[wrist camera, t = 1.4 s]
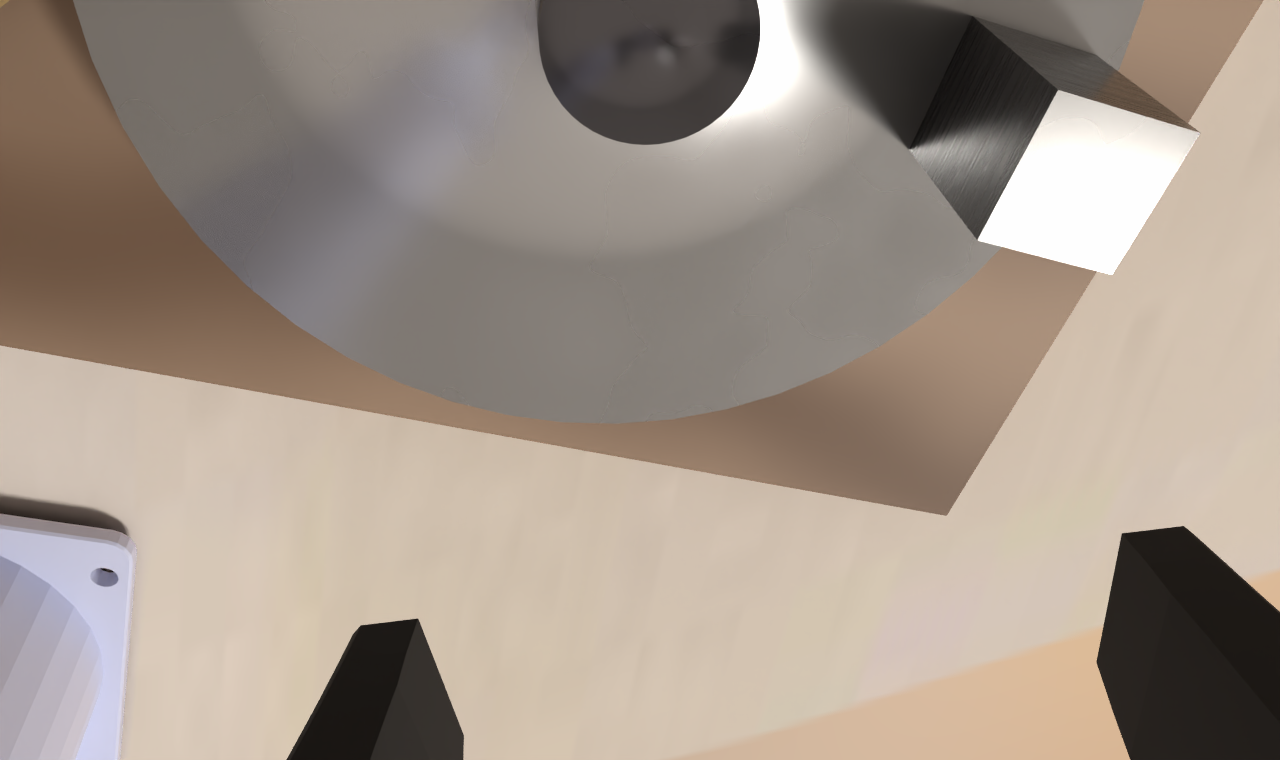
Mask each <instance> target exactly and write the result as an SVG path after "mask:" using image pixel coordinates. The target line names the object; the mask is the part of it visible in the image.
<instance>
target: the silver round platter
mask: <svg viewBox="0 0 1280 760" xmlns="http://www.w3.org/2000/svg"><path fill="white" fill-rule="evenodd" d="M73 2H74V5H75V8H76V12H77V15H78V18H79V21H80V24H81V27H82V31H83V34H84V37H85V40H86V43H87V46H88V49H89V53H90V56H91V59H92V61H93V63H94V66H95V68H96V70H97V72H98V74H99V77H100V79H101V81H102V83H103V85H104V87H105V90H106V92H107V94H108V96H109V98H110V101H111V103H112V105H113V107H114V109H115V111H116V114H117V116H118V118H119V120H120V122H121V124H122V127H123V128H124V130H125V132H126V133H127V135H128V136H129V138H130V140H131V141H132V143H133V145H134V146H135V148H136V150H137V151H138V153H139V154H140V156H141V158H142V159H143V161H144V163H145V164H146V166H147V167H148V169H149V171H150V172H151V174H152V176H153V177H154V179H155V181H156V182H157V184H158V185H159V187H160V188H161V190H162V191H163V192H164V193H165V195H166V196H167V197H168V198H169V200H170V201H171V202H172V203H173V205H174V206H175V207H176V209H177V210H178V211H179V212H180V214H181V215H182V216H183V217H184V219H185V220H186V221H187V223H188V224H189V225H190V226H191V228H192V229H193V230H194V231H195V233H196V234H197V235H198V236H199V238H200V239H201V240H202V241H203V242H204V243H205V244H206V245H207V246H208V247H209V248H210V249H211V250H212V251H213V252H214V253H215V254H216V255H217V256H218V257H219V258H220V259H221V260H222V261H223V262H224V263H225V264H226V265H227V266H228V267H229V268H230V269H231V270H232V271H233V272H234V273H235V274H236V275H237V276H238V277H239V278H240V279H241V280H242V281H243V282H244V283H245V284H246V285H247V286H248V287H249V288H250V289H252V290H253V291H254V292H255V293H256V294H258V295H259V296H260V297H261V298H263V299H264V300H265V301H266V302H268V303H269V304H270V305H271V306H273V307H274V308H275V309H276V310H278V311H279V312H280V313H281V314H283V315H284V316H285V317H286V318H288V319H289V320H290V321H291V322H293V323H294V324H295V325H297V326H298V327H300V328H301V329H303V330H305V331H306V332H308V333H309V334H311V335H313V336H314V337H316V338H317V339H319V340H320V341H322V342H324V343H325V344H327V345H328V346H330V347H332V348H333V349H335V350H336V351H338V352H339V353H341V354H343V355H344V356H346V357H348V358H350V359H352V360H354V361H356V362H358V363H360V364H362V365H364V366H366V367H368V368H370V369H372V370H374V371H376V372H378V373H381V374H383V375H385V376H387V377H389V378H391V379H393V380H395V381H397V382H399V383H402V384H404V385H407V386H410V387H413V388H416V389H418V390H421V391H424V392H427V393H430V394H432V395H435V396H438V397H441V398H444V399H446V400H449V401H452V402H455V403H460V404H464V405H468V406H472V407H476V408H480V409H484V410H489V411H493V412H497V413H501V414H505V415H511V416H518V417H526V418H534V419H541V420H549V421H556V422H570V423H610V424H620V423H632V422H645V421H658V420H670V419H677V418H682V417H687V416H693V415H698V414H704V413H709V412H714V411H720V410H725V409H729V408H732V407H736V406H739V405H743V404H746V403H749V402H753V401H756V400H760V399H763V398H766V397H770V396H773V395H777V394H780V393H782V392H784V391H787V390H789V389H792V388H794V387H797V386H799V385H802V384H804V383H807V382H809V381H811V380H814V379H816V378H819V377H821V376H824V375H826V374H829V373H831V372H833V371H835V370H836V369H838V368H840V367H842V366H844V365H846V364H848V363H850V362H851V361H853V360H855V359H857V358H859V357H861V356H863V355H865V354H866V353H868V352H870V351H872V350H874V349H876V348H878V347H880V346H881V345H883V344H884V343H886V342H887V341H889V340H890V339H892V338H893V337H895V336H896V335H898V334H899V333H900V332H902V331H903V330H905V329H906V328H908V327H909V326H911V325H912V324H914V323H915V322H917V321H918V320H920V319H921V318H923V317H924V316H926V315H927V314H929V313H930V312H931V311H932V310H933V309H935V308H936V307H937V306H938V305H939V304H941V303H942V302H943V301H944V300H945V299H947V298H948V297H949V296H950V295H951V294H953V293H954V292H955V291H956V290H957V289H959V288H960V287H961V286H962V285H963V284H965V283H966V282H967V281H968V280H969V279H971V278H972V277H973V276H974V275H975V274H976V273H977V272H978V271H979V270H980V269H981V268H982V267H983V266H984V265H985V264H986V263H987V262H988V261H989V260H990V259H991V258H992V257H993V256H994V255H995V254H996V253H997V252H998V251H999V250H1000V249H1001V248H1002V247H1005V248H1009V249H1013V250H1017V251H1021V252H1025V253H1028V254H1032V255H1036V256H1040V257H1044V258H1048V259H1052V260H1056V261H1060V262H1064V263H1068V264H1071V265H1075V266H1079V267H1083V268H1087V269H1091V270H1095V271H1099V272H1103V273H1107V274H1110V275H1112V274H1113V272H1114V271H1115V269H1116V268H1117V266H1118V264H1119V263H1120V261H1121V260H1122V258H1123V256H1124V255H1125V253H1126V252H1127V250H1128V248H1129V247H1130V245H1131V244H1132V242H1133V240H1134V239H1135V237H1136V236H1137V234H1138V232H1139V231H1140V229H1141V228H1142V226H1143V224H1144V223H1145V221H1146V220H1147V218H1148V216H1149V215H1150V213H1151V212H1152V210H1153V208H1154V207H1155V205H1156V204H1157V202H1158V200H1159V199H1160V197H1161V196H1162V194H1163V192H1164V191H1165V189H1166V188H1167V186H1168V184H1169V183H1170V181H1171V180H1172V178H1173V176H1174V175H1175V173H1176V172H1177V170H1178V168H1179V167H1180V165H1181V164H1182V162H1183V160H1184V159H1185V157H1186V156H1187V154H1188V152H1189V151H1190V149H1191V148H1192V146H1193V144H1194V143H1195V141H1196V140H1197V138H1198V136H1199V135H1200V132H1199V131H1197V130H1196V129H1195V128H1193V127H1192V126H1191V125H1189V124H1188V123H1187V122H1185V121H1184V120H1183V119H1181V118H1180V117H1179V116H1177V115H1176V114H1175V113H1173V112H1172V111H1171V110H1169V109H1168V108H1167V107H1165V106H1164V105H1163V104H1161V103H1160V102H1158V101H1157V100H1156V99H1154V98H1153V97H1152V96H1150V95H1149V94H1148V93H1146V92H1145V91H1144V90H1142V89H1141V88H1140V87H1138V86H1137V85H1136V84H1134V83H1133V82H1132V81H1130V80H1129V79H1128V78H1126V77H1125V76H1124V75H1122V74H1121V73H1120V72H1118V71H1119V69H1120V66H1121V63H1122V60H1123V58H1124V55H1125V52H1126V50H1127V47H1128V44H1129V41H1130V39H1131V36H1132V33H1133V30H1134V28H1135V25H1136V22H1137V20H1138V17H1139V14H1140V11H1141V9H1142V6H1143V3H1144V0H73Z"/></svg>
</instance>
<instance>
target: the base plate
mask: <svg viewBox="0 0 1280 760" xmlns="http://www.w3.org/2000/svg"><path fill="white" fill-rule="evenodd" d="M1262 2H1263V0H1144V3H1143V6H1142V9H1141V11H1140V14H1139V17H1138V20H1137V22H1136V25H1135V28H1134V30H1133V33H1132V36H1131V39H1130V41H1129V44H1128V47H1127V50H1126V52H1125V55H1124V58H1123V60H1122V63H1121V66H1120V69H1119V71H1118V72H1120V73H1121V74H1122V75H1124V76H1125V77H1126V78H1128V79H1129V80H1130V81H1132V82H1133V83H1134V84H1136V85H1137V86H1138V87H1140V88H1141V89H1142V90H1144V91H1145V92H1146V93H1148V94H1149V95H1150V96H1152V97H1153V98H1154V99H1156V100H1157V101H1158V102H1160V103H1161V104H1163V105H1164V106H1165V107H1167V108H1168V109H1169V110H1171V111H1172V112H1173V113H1175V114H1176V115H1177V116H1179V117H1180V118H1181V119H1183V120H1184V121H1185V122H1187V123H1188V122H1189V121H1190V119H1191V117H1192V116H1193V114H1194V112H1195V111H1196V109H1197V108H1198V106H1199V104H1200V103H1201V101H1202V99H1203V98H1204V96H1205V95H1206V93H1207V91H1208V90H1209V88H1210V86H1211V85H1212V83H1213V82H1214V80H1215V78H1216V77H1217V75H1218V73H1219V72H1220V70H1221V69H1222V67H1223V65H1224V64H1225V62H1226V60H1227V59H1228V57H1229V56H1230V54H1231V52H1232V51H1233V49H1234V47H1235V46H1236V44H1237V43H1238V41H1239V39H1240V38H1241V36H1242V34H1243V33H1244V31H1245V30H1246V28H1247V26H1248V25H1249V23H1250V21H1251V20H1252V18H1253V17H1254V15H1255V13H1256V12H1257V10H1258V8H1259V7H1260V5H1261V4H1262ZM1096 272H1097V271H1095V270H1091V269H1087V268H1083V267H1079V266H1075V265H1071V264H1068V263H1064V262H1060V261H1056V260H1052V259H1048V258H1044V257H1040V256H1036V255H1032V254H1028V253H1025V252H1021V251H1017V250H1013V249H1009V248H1005V247H1002V248H1001V249H1000V250H999V251H998V252H997V253H996V254H995V255H994V256H993V257H992V258H991V259H990V260H989V261H988V262H987V263H986V264H985V265H984V266H983V267H982V268H981V269H980V270H979V271H978V272H977V273H976V274H975V275H974V276H973V277H972V278H971V279H969V280H968V281H967V282H966V283H965V284H963V285H962V286H961V287H960V288H959V289H957V290H956V291H955V292H954V293H953V294H951V295H950V296H949V297H948V298H947V299H945V300H944V301H943V302H942V303H941V304H939V305H938V306H937V307H936V308H935V309H933V310H932V311H931V312H930V313H929V314H927V315H926V316H924V317H923V318H921V319H920V320H918V321H917V322H915V323H914V324H912V325H911V326H909V327H908V328H906V329H905V330H903V331H902V332H900V333H899V334H898V335H896V336H895V337H893V338H892V339H890V340H889V341H887V342H886V343H884V344H883V345H881V346H880V347H878V348H876V349H874V350H872V351H870V352H868V353H866V354H865V355H863V356H861V357H859V358H857V359H855V360H853V361H851V362H850V363H848V364H846V365H844V366H842V367H840V368H838V369H836V370H835V371H833V372H831V373H829V374H826V375H824V376H821V377H819V378H816V379H814V380H811V381H809V382H807V383H804V384H802V385H799V386H797V387H794V388H792V389H789V390H787V391H784V392H782V393H780V394H777V395H773V396H770V397H766V398H763V399H760V400H756V401H753V402H749V403H746V404H743V405H739V406H736V407H732V408H729V409H725V410H720V411H714V412H709V413H704V414H698V415H693V416H687V417H682V418H677V419H670V420H658V421H645V422H632V423H620V424H610V423H570V422H556V421H549V420H541V419H534V418H526V417H518V416H511V415H505V414H501V413H497V412H493V411H489V410H484V409H480V408H476V407H472V406H468V405H464V404H460V403H455V402H452V401H449V400H446V399H444V398H441V397H438V396H435V395H432V394H430V393H427V392H424V391H421V390H418V389H416V388H413V387H410V386H407V385H404V384H402V383H399V382H397V381H395V380H393V379H391V378H389V377H387V376H385V375H383V374H381V373H378V372H376V371H374V370H372V369H370V368H368V367H366V366H364V365H362V364H360V363H358V362H356V361H354V360H352V359H350V358H348V357H346V356H344V355H343V354H341V353H339V352H338V351H336V350H335V349H333V348H332V347H330V346H328V345H327V344H325V343H324V342H322V341H320V340H319V339H317V338H316V337H314V336H313V335H311V334H309V333H308V332H306V331H305V330H303V329H301V328H300V327H298V326H297V325H295V324H294V323H293V322H291V321H290V320H289V319H288V318H286V317H285V316H284V315H283V314H281V313H280V312H279V311H278V310H276V309H275V308H274V307H273V306H271V305H270V304H269V303H268V302H266V301H265V300H264V299H263V298H261V297H260V296H259V295H258V294H256V293H255V292H254V291H253V290H252V289H250V288H249V287H248V286H247V285H246V284H245V283H244V282H243V281H242V280H241V279H240V278H239V277H238V276H237V275H236V274H235V273H234V272H233V271H232V270H231V269H230V268H229V267H228V266H227V265H226V264H225V263H224V262H223V261H222V260H221V259H220V258H219V257H218V256H217V255H216V254H215V253H214V252H213V251H212V250H211V249H210V248H209V247H208V246H207V245H206V244H205V243H204V242H203V241H202V240H201V239H200V238H199V236H198V235H197V234H196V233H195V231H194V230H193V229H192V228H191V226H190V225H189V224H188V223H187V221H186V220H185V219H184V217H183V216H182V215H181V214H180V212H179V211H178V210H177V209H176V207H175V206H174V205H173V203H172V202H171V201H170V200H169V198H168V197H167V196H166V195H165V193H164V192H163V191H162V190H161V188H160V187H159V185H158V184H157V182H156V181H155V179H154V177H153V176H152V174H151V172H150V171H149V169H148V167H147V166H146V164H145V163H144V161H143V159H142V158H141V156H140V154H139V153H138V151H137V150H136V148H135V146H134V145H133V143H132V141H131V140H130V138H129V136H128V135H127V133H126V132H125V130H124V128H123V127H122V124H121V122H120V120H119V118H118V116H117V114H116V111H115V109H114V107H113V105H112V103H111V101H110V98H109V96H108V94H107V92H106V90H105V87H104V85H103V83H102V81H101V79H100V77H99V74H98V72H97V70H96V68H95V66H94V63H93V61H92V59H91V56H90V53H89V49H88V46H87V43H86V40H85V37H84V34H83V31H82V27H81V24H80V21H79V18H78V15H77V12H76V8H75V5H74V2H73V0H0V345H1V346H7V347H12V348H18V349H24V350H29V351H35V352H40V353H46V354H51V355H57V356H62V357H68V358H74V359H79V360H85V361H90V362H96V363H101V364H107V365H112V366H118V367H124V368H129V369H135V370H140V371H146V372H151V373H157V374H162V375H168V376H174V377H179V378H185V379H190V380H196V381H201V382H207V383H212V384H218V385H224V386H229V387H235V388H240V389H246V390H251V391H257V392H262V393H268V394H273V395H279V396H285V397H290V398H296V399H301V400H307V401H312V402H318V403H323V404H329V405H335V406H340V407H346V408H351V409H357V410H362V411H368V412H373V413H379V414H385V415H390V416H396V417H401V418H407V419H412V420H418V421H423V422H429V423H435V424H440V425H446V426H451V427H457V428H462V429H468V430H473V431H479V432H485V433H490V434H496V435H501V436H507V437H512V438H518V439H523V440H529V441H535V442H540V443H546V444H551V445H557V446H562V447H568V448H573V449H579V450H585V451H590V452H596V453H601V454H607V455H612V456H618V457H623V458H629V459H635V460H640V461H646V462H651V463H657V464H662V465H668V466H673V467H679V468H684V469H690V470H696V471H701V472H707V473H712V474H718V475H723V476H729V477H734V478H740V479H746V480H751V481H757V482H762V483H768V484H773V485H779V486H784V487H790V488H796V489H801V490H807V491H812V492H818V493H823V494H829V495H834V496H840V497H846V498H851V499H857V500H862V501H868V502H873V503H879V504H884V505H890V506H896V507H901V508H907V509H912V510H918V511H923V512H929V513H934V514H940V515H946V516H947V514H948V513H949V511H950V509H951V508H952V506H953V504H954V503H955V501H956V500H957V498H958V496H959V495H960V493H961V491H962V490H963V488H964V487H965V485H966V483H967V482H968V480H969V478H970V477H971V475H972V474H973V472H974V470H975V469H976V467H977V465H978V464H979V462H980V460H981V459H982V457H983V456H984V454H985V452H986V451H987V449H988V447H989V446H990V444H991V443H992V441H993V439H994V438H995V436H996V434H997V433H998V431H999V430H1000V428H1001V426H1002V425H1003V423H1004V421H1005V420H1006V418H1007V417H1008V415H1009V413H1010V412H1011V410H1012V408H1013V407H1014V405H1015V404H1016V402H1017V400H1018V399H1019V397H1020V395H1021V394H1022V392H1023V391H1024V389H1025V387H1026V386H1027V384H1028V382H1029V381H1030V379H1031V378H1032V376H1033V374H1034V373H1035V371H1036V369H1037V368H1038V366H1039V365H1040V363H1041V361H1042V360H1043V358H1044V356H1045V355H1046V353H1047V352H1048V350H1049V348H1050V347H1051V345H1052V343H1053V342H1054V340H1055V339H1056V337H1057V335H1058V334H1059V332H1060V330H1061V329H1062V327H1063V326H1064V324H1065V322H1066V321H1067V319H1068V317H1069V316H1070V314H1071V313H1072V311H1073V309H1074V308H1075V306H1076V304H1077V303H1078V301H1079V300H1080V298H1081V296H1082V295H1083V293H1084V291H1085V290H1086V288H1087V286H1088V285H1089V283H1090V282H1091V280H1092V278H1093V277H1094V275H1095V273H1096Z"/></svg>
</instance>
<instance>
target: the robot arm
mask: <svg viewBox="0 0 1280 760" xmlns="http://www.w3.org/2000/svg"><path fill="white" fill-rule="evenodd" d="M136 556H137V549H136V545H135V543H134V542H133V541H132V539H131V538H130V537H128V536H127V535H125V534H123V533H122V532H118V531H115V530H110V529H103V528H96V527H89V526H82V525H75V524H68V523H61V522H54V521H48V520H41V519H34V518H27V517H20V516H13V515H6V514H0V760H120V757H121V744H122V732H123V719H124V707H125V694H126V682H127V669H128V657H129V644H130V631H131V619H132V606H133V594H134V581H135V569H136ZM100 568H106V569H110V570H112V571H114V572H112V573H109V572H106V571H103V570H102V569H100ZM1097 665H1098V668H1099V671H1100V674H1101V677H1102V680H1103V683H1104V686H1105V689H1106V692H1107V695H1108V698H1109V701H1110V704H1111V707H1112V710H1113V713H1114V715H1115V718H1116V721H1117V724H1118V727H1119V729H1120V732H1121V735H1122V738H1123V740H1124V743H1125V746H1126V749H1127V752H1128V754H1129V757H1130V759H1131V760H1280V612H1279V611H1278V610H1277V609H1276V608H1275V607H1274V606H1273V605H1271V604H1270V603H1269V602H1268V601H1267V600H1266V599H1265V598H1264V597H1262V596H1261V595H1260V594H1259V593H1258V592H1257V591H1256V590H1255V589H1254V588H1253V587H1251V586H1250V585H1249V584H1248V583H1247V582H1246V581H1245V580H1244V579H1243V578H1241V577H1240V576H1239V575H1238V574H1237V573H1236V572H1235V571H1234V570H1233V569H1232V568H1230V567H1229V566H1228V565H1227V564H1226V563H1225V562H1224V561H1223V560H1222V559H1221V558H1219V557H1218V556H1217V555H1216V554H1215V553H1214V552H1213V551H1212V550H1211V549H1209V548H1208V547H1207V546H1206V545H1205V544H1204V543H1203V542H1202V541H1201V540H1199V539H1198V538H1197V537H1196V536H1195V535H1194V534H1193V533H1192V532H1190V531H1189V530H1188V529H1187V528H1185V527H1184V526H1181V527H1172V528H1164V529H1156V530H1148V531H1139V532H1131V533H1123V534H1122V536H1121V541H1120V546H1119V551H1118V556H1117V561H1116V566H1115V571H1114V576H1113V581H1112V586H1111V591H1110V597H1109V602H1108V607H1107V612H1106V617H1105V622H1104V627H1103V632H1102V637H1101V642H1100V648H1099V652H1098V657H1097ZM463 745H464V735H463V732H462V730H461V727H460V725H459V722H458V720H457V717H456V714H455V712H454V709H453V707H452V704H451V702H450V699H449V696H448V694H447V691H446V689H445V686H444V684H443V681H442V679H441V676H440V673H439V671H438V668H437V666H436V663H435V661H434V658H433V655H432V653H431V650H430V648H429V645H428V643H427V640H426V638H425V635H424V632H423V630H422V627H421V625H420V622H419V620H418V619H411V620H403V621H395V622H386V623H378V624H370V625H361V626H360V627H359V628H358V629H357V630H356V632H355V633H354V634H353V636H352V638H351V640H350V642H349V643H348V645H347V647H346V649H345V651H344V653H343V655H342V657H341V659H340V661H339V663H338V665H337V667H336V669H335V671H334V673H333V675H332V677H331V679H330V680H329V682H328V684H327V686H326V688H325V690H324V692H323V694H322V696H321V698H320V700H319V701H318V703H317V705H316V707H315V709H314V711H313V713H312V714H311V716H310V718H309V720H308V722H307V724H306V725H305V727H304V729H303V731H302V733H301V735H300V736H299V738H298V740H297V742H296V744H295V745H294V747H293V749H292V751H291V753H290V755H289V756H288V758H287V760H463Z"/></svg>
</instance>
